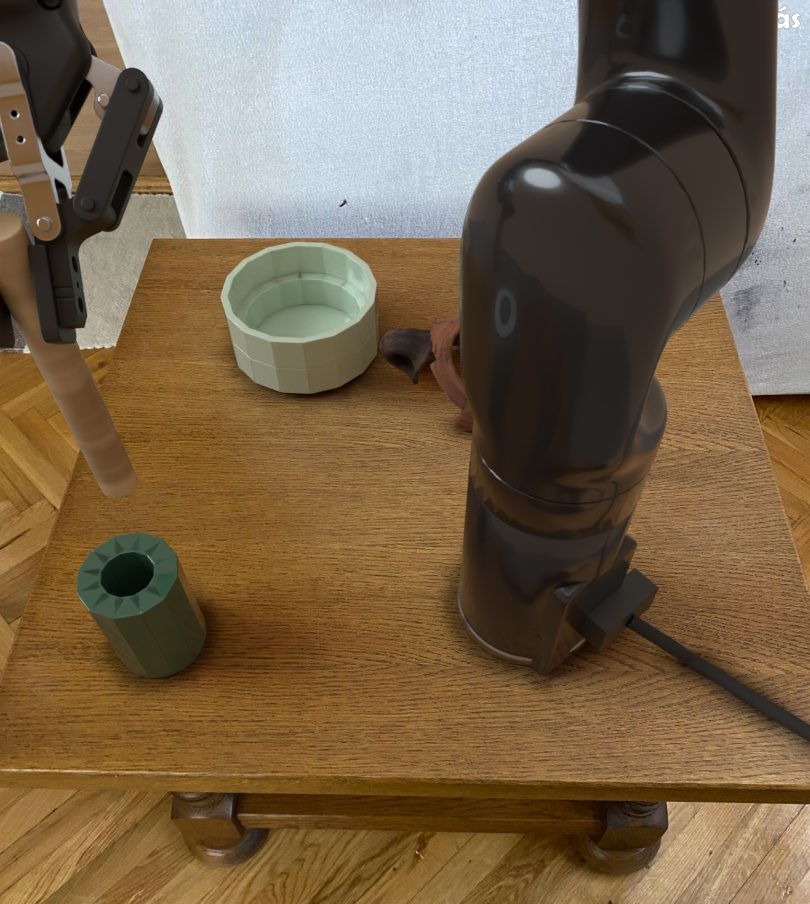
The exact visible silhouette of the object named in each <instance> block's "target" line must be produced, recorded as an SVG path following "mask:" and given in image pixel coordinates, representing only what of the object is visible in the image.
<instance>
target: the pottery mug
mask: <svg viewBox="0 0 810 904" xmlns="http://www.w3.org/2000/svg"><path fill="white" fill-rule="evenodd" d="M453 347H455V348H456V347H457V348H460V313H459V311H457V312H455V313H451V314H449V315H447V316H445V317H443V318H441V319H440V320H438V321H437V322H435V323H434V325H432V327H431V328H429V329H419V328H414V327H405V328H396V329H389V330H388V331H387V332H386V333H385V334H384V335H382V338H380V340H379V344H378V350H379V351H380V352H381V355H382V357H383V359H384V360H385V361H386V362H387V364H389V365H391V366H392V367H394V368H396V369H398V370H399V371H401V372H403V373H404V374H405V375H406V376H407V378H408V379H409V381H410V382H411V384H412V385H413V386H417V385H418V384H419V377H420V374H421V371H422V370H423V369H424V368H425V367H426V366H427V365H428V363H429V362H430V360H431V358H433V356H434V358H435V360H434V361H433V362H431V363H430V364H429V369H430V371H431V372H432V374H433V376H434V378H435V380H436V382H437V384H438V386H439V387H440V388H441V390H442V391H443V392H444V394H445V396H447V398H448V399H449V401H451V403H452V404H454V405H455V406H456V407H457V408H458V409H461V410H460V412H459V414H458V416H457V417H455V418H454V419H453V426H454V427H455V428H458V429H461V430H465V431H472V429H473V418H474V417H473V414H472V411H471V409H470V407H469V404H468V401H467V399H466V395H465V392H464V389H463V383H462V379H461V376H459V374H458V372H457V369H456V367H455V364H454V360H453Z"/></svg>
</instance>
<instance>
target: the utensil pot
mask: <svg viewBox="0 0 810 904" xmlns="http://www.w3.org/2000/svg"><path fill="white" fill-rule="evenodd" d="M76 596H77V597H78V599H79V601H80V602H81V603H82V605H83V606H84V608H85V609H86V611H87V613H88V614H89V615H90V617H91V618H92V620H93V621H94V623H95V624H96V627H98V629H99V630H100V632H101V633H102V635H103V636H104V638H105V639H106V641H107V642H108V644H109V645H110V647H111V648H112V650H113V651H114V653H115V654H116V655H117V657H118V658H119V659H120V661H121V662H122V664H123V665H124V667H125V668H126V669H128V670H129V671H130V672H132V673H133V674H135V675H137V676H141V677H144V678H150V679H158V678H159V679H160V678H165V677H169V676H172V675H175V674H177V673H180V672H182V671H183V670H185V669H186V668H188V667H189V666H190V665H191V664H192V663H194V662H195V661H196V659H197V658H198V657H199V655H200V653H201V652H202V650H203V648H204V646H205V643H206V639H207V626H206V622H205V617H204V615H203V611H202V609H201V607H200V604H199V603H198V600H197V598H196V595H195V593H194V591H193V589H192V586H191V583H190V582H189V579H188V577H187V575H186V573H185V571H184V568H183V566H182V564H181V561H180V560H179V556H178V555H177V553H176V552H175V551H174V550H173V549H172V547H171V546H170V545H169V544H168V543H167V541H166V540H165V539H164V538H162V537H158V536H155V535H152V534H148V533H144V532H140V531H138V532H133V533H127V534H119V535H114V536H112V537H111V538H109V539H108V540H106V541H104V542H102V543H101V544H99V545H98V546H96V547H94V548H92V549H91V550H90V552H89V553H88V555H87V556H86V557H85V559H84V561H83V562H82V563H81V565H80V567H79V568H78V569H77V573H76Z"/></svg>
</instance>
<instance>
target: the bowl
mask: <svg viewBox="0 0 810 904" xmlns="http://www.w3.org/2000/svg"><path fill="white" fill-rule="evenodd" d="M378 294H379V293H378V282H377V280H376V278H375V276H374V274H373V272H372V269H371V267H370V265H369V264H368V263H367V262H366V261H364V260H363V259H361V258H360V257H359V256H358V255H356V254H354V253H353V252H352V251H351V250H349V249H346V248H343V247H340V246H336V245H333V244H330V243H327V242H318V241H317V242H313V241H312V242H311V241H292V242H287V243H283V244H282V243H281V244H278V245H272V246H268V247H266V248H263V249H261V250H259V251H258V252H255V253H253V254H251V255H250V256H247V257H246V258H244V259H242V260H241V261H240V262H239V263H238V265H236V266H235V267H234V269H232V271H231V272H230V273H228V275H227V276H226V278H225V281H224V284H223V287H222V291H221V294H220V301H221V305H222V309H223V314H224V318H225V321H226V326H227V329H228V330H227V331H228V333H229V338H230V342H231V347H232V350H233V353H234V356H235V360H236V363H237V366H238V369H240V370H241V371H242V372H243V373H244V374H245V375H246V376H247V377H249V379H250V380H252V381H253V382H254V383H255V384H258V385H260V386H263V387H266V388H268V389H271V390H274V391H276V392H279V393H282V394H283V393H285V394H286V393H287V394H306V395H307V394H308V395H310V394H311V395H312V394H317V393H320V392H324V391H328V390H332V389H333V390H334V389H337V388H340V387H342V386H344V385H346V384H347V383H348V382H350V381H352V380H354V379H356V378H357V377H358V376H360V375H362V374H364V372H365V371H366V369H367V368H368V367H369V366H370V364H371V363H372V362H373V361H374V359H375V358H376V357H377V355H378V350H379V343H380V316H379V315H380V314H379V313H380V312H379V296H378Z"/></svg>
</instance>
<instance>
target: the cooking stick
mask: <svg viewBox="0 0 810 904" xmlns="http://www.w3.org/2000/svg"><path fill="white" fill-rule="evenodd" d="M33 242H34V241H33V240H32V238H31V236H30V233H29V231H28V229H27V227H26V225H25V222H24V220H23V218H22V217H21V216H20V215H19V214H16V213H15V212H11V211H0V294H1V296H2V298H3V300H4V302H5V304H6V306H7V308H8V310H9V312H10V314H11V318H12V319H13V321H14V323H15V325H16V327H17V329H18V331H19V333H20V335H21V338H22V339H23V341H24V343H25V345H26V346H27V348H28V351H29V352H30V354H31V356H32V358H33V360H34V362H35V364H36V366H37V368H38V370H39V372H40V373H41V376H42V377H43V380H44V381H45V384H46V385H47V387H48V389H49V391H50V393H51V395H52V397H53V399H54V401H55V403H56V405H57V407H58V409H59V411H60V413H61V415H62V416H63V419H64V420H65V422H66V424H67V427H68V428H69V430H70V432H71V434H72V436H73V437H74V440H75V441H76V444H77V445H78V448H79V450H80V451H81V453H82V455H83V457H84V459H85V461H86V463H87V465H88V467H89V468H90V471H91V473H92V474H93V476H94V479H95V481H96V482H97V484H98V486H99V488H100V490H101V492H102V493H103V494H104V495H105V496H106V497H108V498H111V499H121V498H124V497H127V496H129V495H131V494H132V493H134V492H135V490H136V488H137V487H138V484H139V477H138V475H137V473H136V470H135V468H134V466H133V464H132V461H131V459H130V457H129V455H128V452H127V450H126V448H125V446H124V443H123V441H122V439H121V437H120V435H119V433H118V430H117V428H116V426H115V424H114V422H113V419H112V417H111V415H110V412H109V410H108V408H107V406H106V403H105V401H104V399H103V397H102V395H101V392H100V390H99V388H98V386H97V383H96V381H95V378H94V377H93V374H92V371H91V370H90V368H89V366H88V363H87V361H86V359H85V357H84V354H83V352H82V349H81V347H80V345H79V342H78V340H76V342H75V343H73V344H60V345H56V344H50V343H46V342H45V341H44V339H43V337H42V334H41V329H40V323H39V317H38V311H37V304H36V298H35V292H34V286H33V279H32V273H31V267H30V261H29V255H28V248H27V247H28V245H35V243H33Z"/></svg>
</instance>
